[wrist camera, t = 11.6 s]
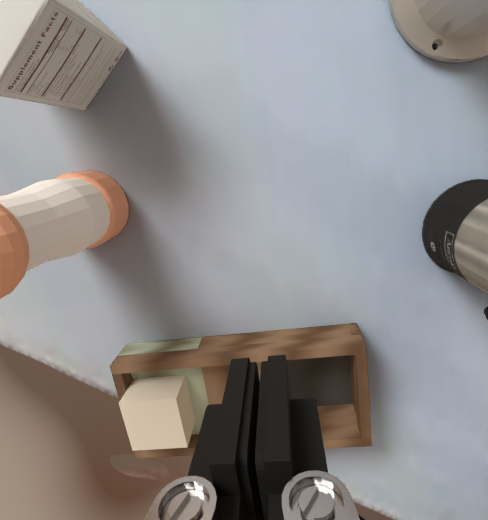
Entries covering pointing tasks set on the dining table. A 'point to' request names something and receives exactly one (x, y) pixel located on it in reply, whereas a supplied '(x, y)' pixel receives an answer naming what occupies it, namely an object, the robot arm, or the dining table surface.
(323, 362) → the box
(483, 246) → the milk frother
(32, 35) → the supplement box
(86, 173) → the pepper shaker
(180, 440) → the cream block
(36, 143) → the dining table surface
